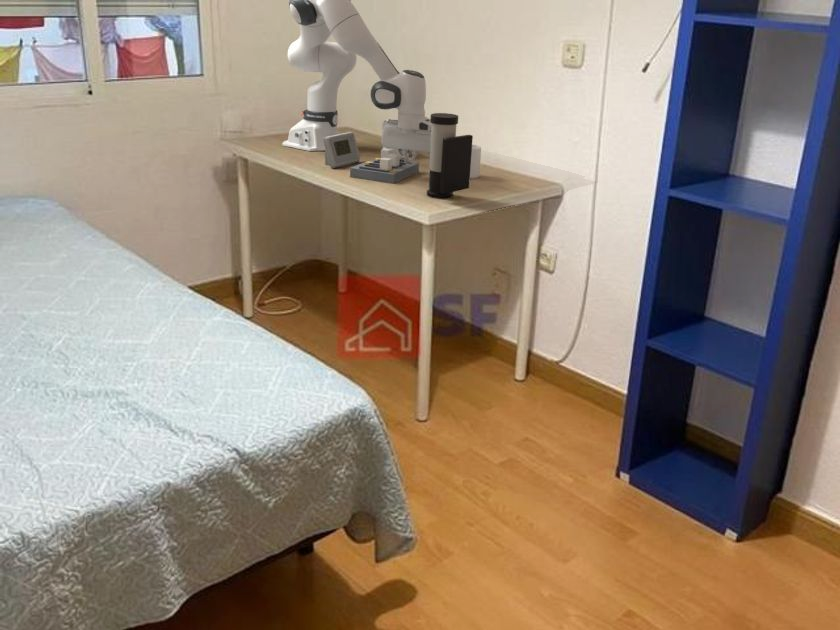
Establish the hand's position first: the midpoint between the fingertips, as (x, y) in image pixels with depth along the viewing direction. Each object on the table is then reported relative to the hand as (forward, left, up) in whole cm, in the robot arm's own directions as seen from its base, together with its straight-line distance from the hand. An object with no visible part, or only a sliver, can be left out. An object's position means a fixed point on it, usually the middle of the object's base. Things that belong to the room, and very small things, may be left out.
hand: (409, 163), depth 274 cm
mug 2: (+14, +14, -5) cm, 21 cm away
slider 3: (-6, 0, -1) cm, 6 cm away
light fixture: (+19, -17, -5) cm, 26 cm away
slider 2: (-5, -7, -1) cm, 9 cm away
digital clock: (-28, +4, -5) cm, 29 cm away
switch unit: (-9, 0, -5) cm, 10 cm away
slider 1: (-12, +7, -1) cm, 14 cm away
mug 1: (-19, +28, -5) cm, 34 cm away
